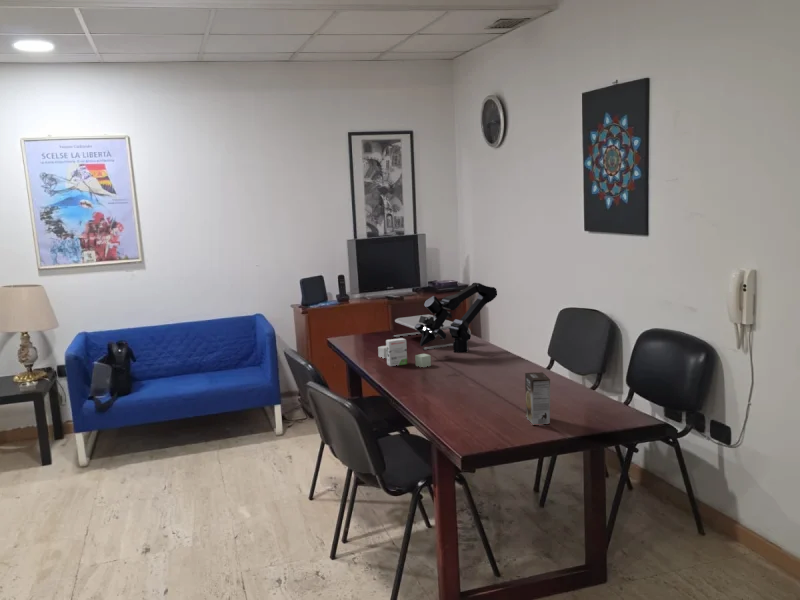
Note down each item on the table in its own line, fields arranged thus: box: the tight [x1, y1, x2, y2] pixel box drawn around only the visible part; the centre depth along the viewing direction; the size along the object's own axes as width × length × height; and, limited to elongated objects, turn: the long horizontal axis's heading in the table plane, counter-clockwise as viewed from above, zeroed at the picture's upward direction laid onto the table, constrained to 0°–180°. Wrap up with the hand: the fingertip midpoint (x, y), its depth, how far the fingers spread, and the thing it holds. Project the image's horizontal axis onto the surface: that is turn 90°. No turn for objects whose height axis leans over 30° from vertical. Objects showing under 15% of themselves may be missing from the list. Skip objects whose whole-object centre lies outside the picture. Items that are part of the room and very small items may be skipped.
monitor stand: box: [392, 314, 472, 351], centre depth 371 cm, size 37×28×11 cm
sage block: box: [414, 353, 432, 368], centre depth 319 cm, size 5×5×5 cm
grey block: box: [377, 345, 387, 359], centre depth 338 cm, size 5×5×5 cm
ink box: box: [385, 337, 408, 367], centre depth 322 cm, size 9×5×12 cm, turn 111°
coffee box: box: [524, 371, 551, 425], centre depth 238 cm, size 9×6×16 cm
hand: (420, 345), depth 330 cm, fingers closed
